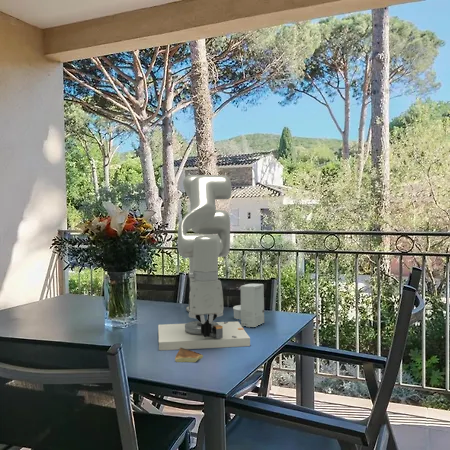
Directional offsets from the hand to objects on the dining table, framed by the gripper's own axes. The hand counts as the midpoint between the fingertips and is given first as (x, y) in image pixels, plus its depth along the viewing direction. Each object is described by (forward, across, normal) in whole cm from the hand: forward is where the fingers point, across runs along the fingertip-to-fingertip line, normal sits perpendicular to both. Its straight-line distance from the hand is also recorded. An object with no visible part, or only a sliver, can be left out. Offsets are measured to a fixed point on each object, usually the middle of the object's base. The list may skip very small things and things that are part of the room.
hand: (206, 335), depth 151 cm
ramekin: (+4, +22, +34) cm, 40 cm away
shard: (+4, -8, -8) cm, 13 cm away
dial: (+1, +1, +7) cm, 7 cm away
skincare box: (+4, +22, +23) cm, 32 cm away
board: (+4, 0, +10) cm, 10 cm away
